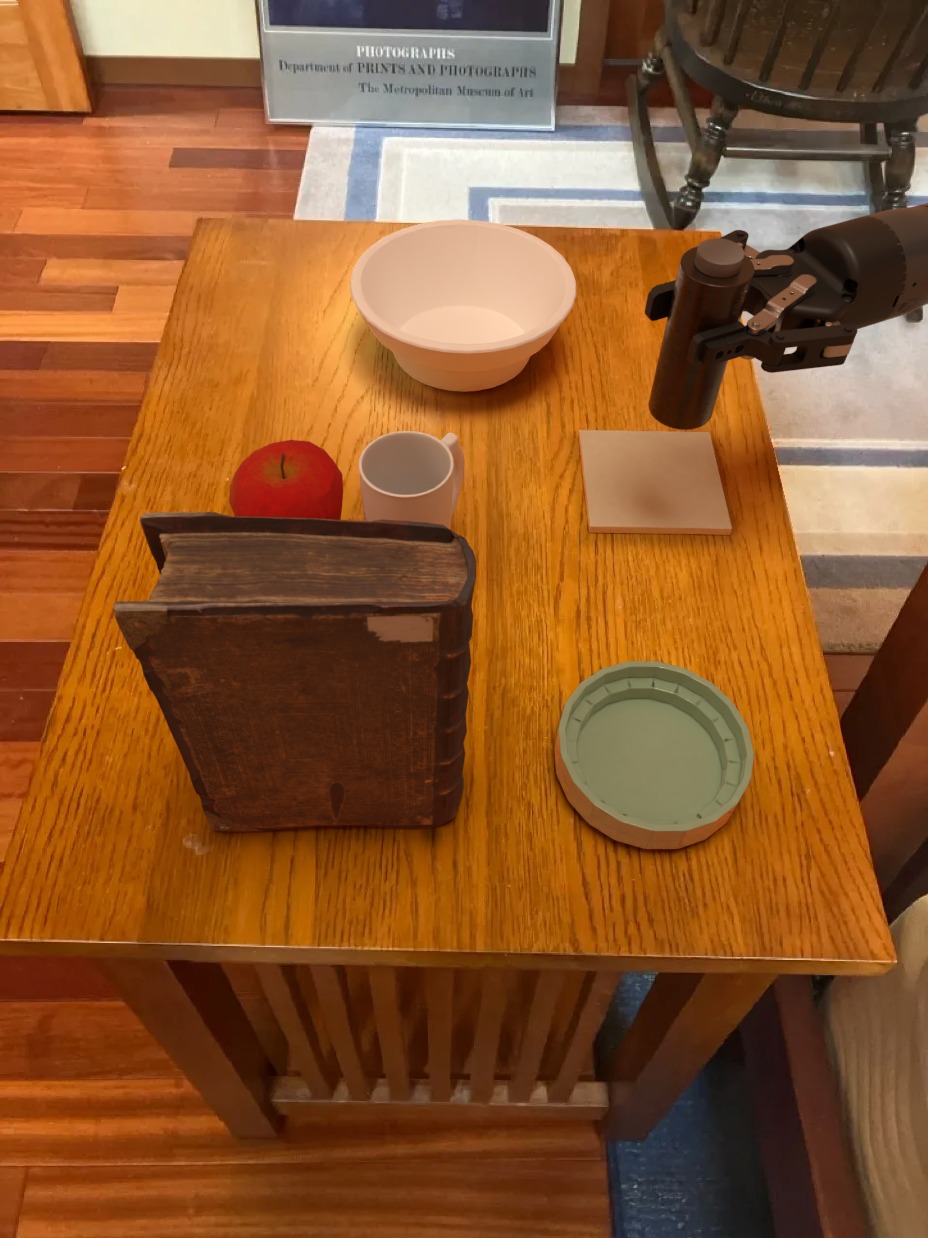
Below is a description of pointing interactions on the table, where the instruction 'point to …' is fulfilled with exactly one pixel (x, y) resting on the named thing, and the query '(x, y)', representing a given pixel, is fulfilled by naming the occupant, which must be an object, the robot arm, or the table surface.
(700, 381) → the thermos flask
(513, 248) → the bowl
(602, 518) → the tile
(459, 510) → the table surface
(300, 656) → the book
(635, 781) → the celadon bowl
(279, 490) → the apple
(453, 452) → the mug
